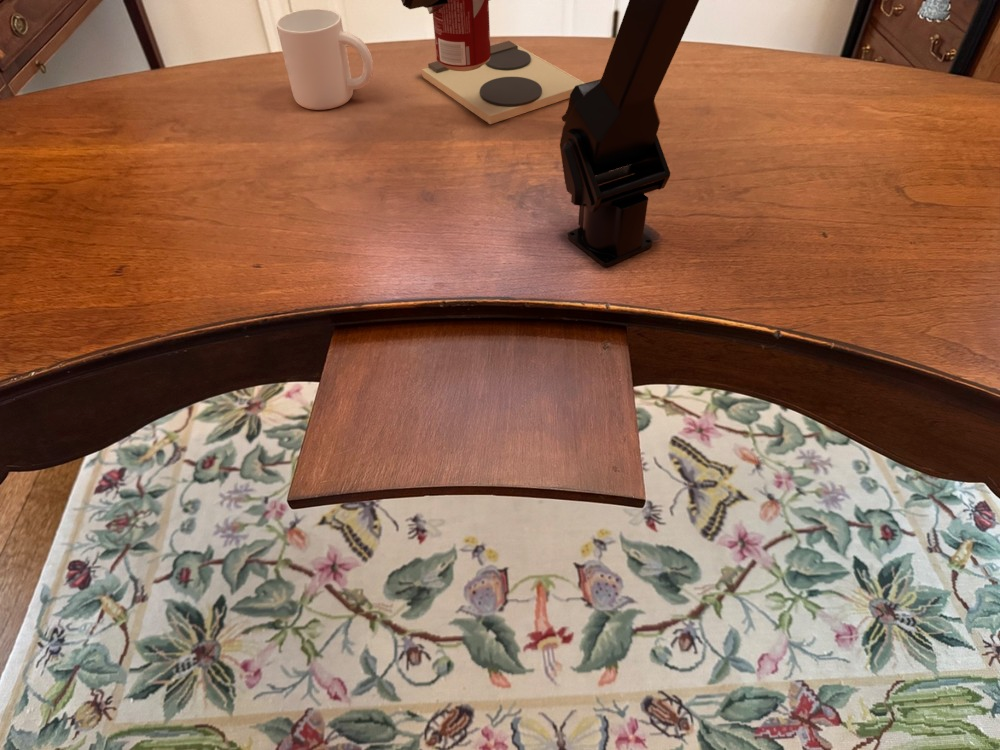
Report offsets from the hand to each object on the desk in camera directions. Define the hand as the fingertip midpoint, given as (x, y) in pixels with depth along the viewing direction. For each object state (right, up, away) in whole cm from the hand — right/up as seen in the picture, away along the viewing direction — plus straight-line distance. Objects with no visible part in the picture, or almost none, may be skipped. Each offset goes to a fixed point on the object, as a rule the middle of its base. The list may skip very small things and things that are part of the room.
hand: (455, 4), depth 86 cm
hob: (+6, -4, +15) cm, 16 cm away
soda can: (+1, -6, +4) cm, 7 cm away
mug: (-17, -7, +13) cm, 23 cm away
